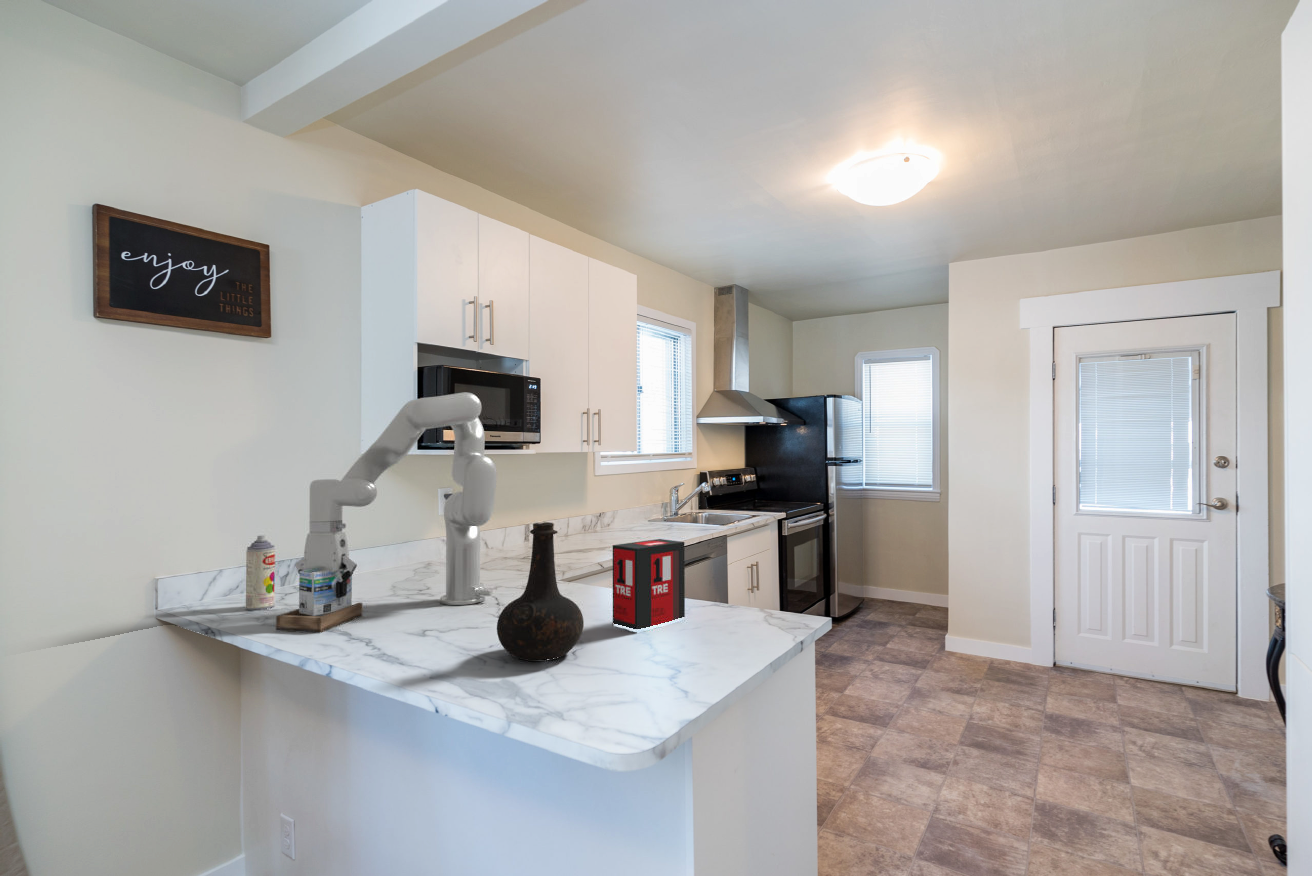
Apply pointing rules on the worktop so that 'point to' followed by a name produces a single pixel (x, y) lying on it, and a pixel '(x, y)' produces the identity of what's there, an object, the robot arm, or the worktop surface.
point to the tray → (317, 619)
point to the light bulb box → (321, 592)
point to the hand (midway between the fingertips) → (325, 595)
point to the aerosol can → (260, 574)
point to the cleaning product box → (648, 583)
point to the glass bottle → (540, 608)
